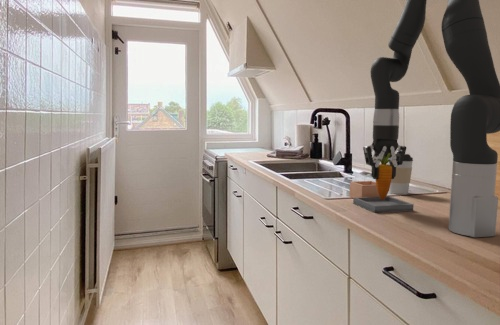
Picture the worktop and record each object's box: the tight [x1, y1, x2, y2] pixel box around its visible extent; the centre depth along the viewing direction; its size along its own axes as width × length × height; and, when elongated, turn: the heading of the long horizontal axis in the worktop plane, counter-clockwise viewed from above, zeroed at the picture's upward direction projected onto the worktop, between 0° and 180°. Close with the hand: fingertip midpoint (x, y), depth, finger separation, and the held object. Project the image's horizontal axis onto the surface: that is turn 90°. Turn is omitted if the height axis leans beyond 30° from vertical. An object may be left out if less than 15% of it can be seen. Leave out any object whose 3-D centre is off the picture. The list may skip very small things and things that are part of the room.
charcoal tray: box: [352, 195, 414, 214], centre depth 121 cm, size 13×13×2 cm
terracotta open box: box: [348, 180, 380, 199], centre depth 134 cm, size 9×9×6 cm
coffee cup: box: [387, 153, 414, 195], centre depth 145 cm, size 9×9×15 cm
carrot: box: [375, 153, 392, 200], centre depth 120 cm, size 5×5×15 cm
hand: (383, 178), depth 120 cm, fingers closed on carrot, 5 cm apart
